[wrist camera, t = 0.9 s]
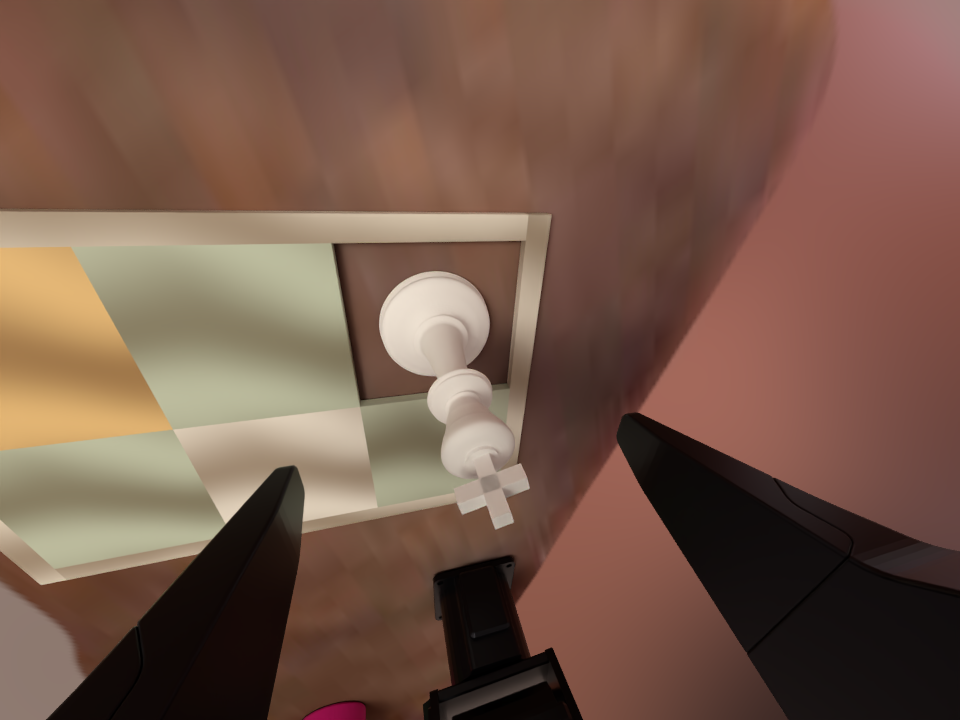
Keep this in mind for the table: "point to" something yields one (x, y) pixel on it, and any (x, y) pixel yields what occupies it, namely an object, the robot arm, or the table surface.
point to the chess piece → (455, 383)
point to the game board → (209, 377)
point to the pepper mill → (339, 712)
